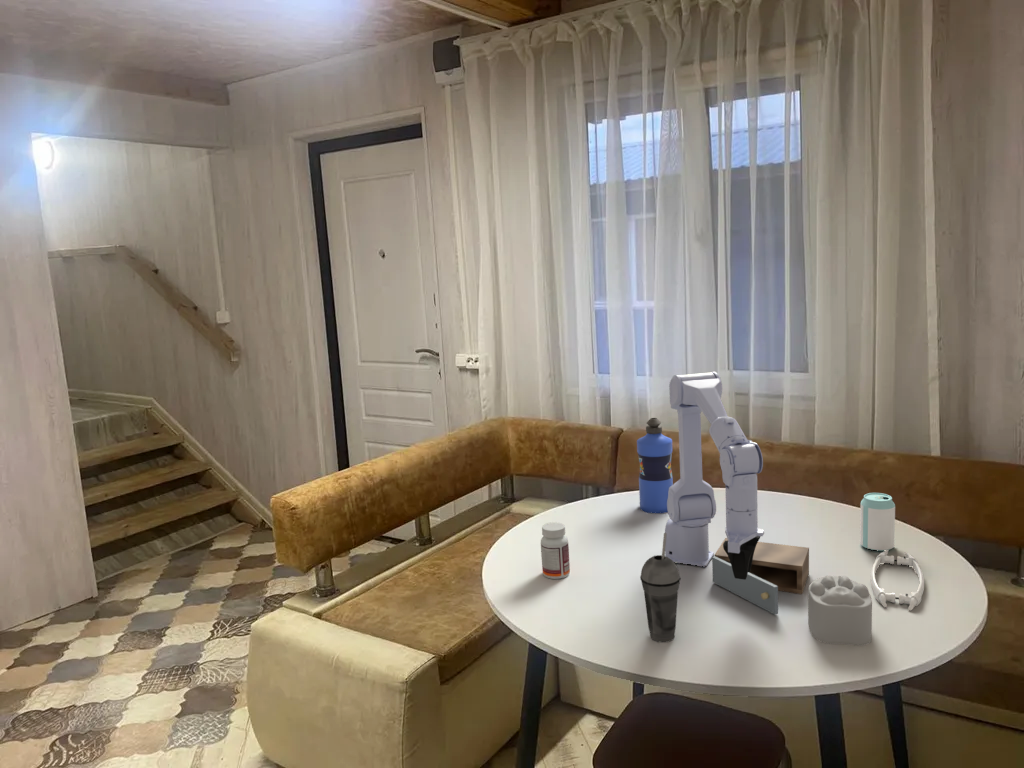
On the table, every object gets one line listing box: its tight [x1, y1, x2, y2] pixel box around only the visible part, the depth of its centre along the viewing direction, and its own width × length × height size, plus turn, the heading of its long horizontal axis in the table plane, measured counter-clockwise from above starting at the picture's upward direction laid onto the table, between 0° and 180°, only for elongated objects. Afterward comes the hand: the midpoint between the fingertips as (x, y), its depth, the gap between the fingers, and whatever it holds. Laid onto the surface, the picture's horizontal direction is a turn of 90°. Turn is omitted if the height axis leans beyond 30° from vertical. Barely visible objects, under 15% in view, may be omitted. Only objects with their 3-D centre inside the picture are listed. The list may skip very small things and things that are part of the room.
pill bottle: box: [540, 521, 571, 580], centre depth 172 cm, size 6×6×11 cm
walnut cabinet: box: [714, 537, 810, 595], centre depth 164 cm, size 18×10×6 cm, turn 62°
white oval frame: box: [870, 550, 925, 612], centre depth 158 cm, size 3×10×25 cm
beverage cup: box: [639, 532, 682, 643], centre depth 142 cm, size 7×7×20 cm
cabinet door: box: [711, 555, 779, 615], centre depth 155 cm, size 18×2×6 cm, turn 27°
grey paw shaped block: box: [807, 575, 873, 646], centre depth 142 cm, size 10×13×9 cm
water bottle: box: [636, 417, 674, 514], centre depth 209 cm, size 9×9×25 cm
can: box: [859, 492, 896, 552], centre depth 175 cm, size 7×7×12 cm
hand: (742, 574), depth 148 cm, fingers open, 3 cm apart
